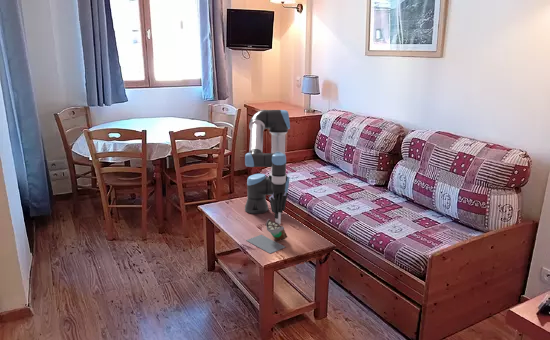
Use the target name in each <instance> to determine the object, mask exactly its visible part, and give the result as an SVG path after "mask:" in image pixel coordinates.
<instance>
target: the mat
mask: <svg viewBox="0 0 550 340" xmlns="http://www.w3.org/2000/svg"><path fill="white" fill-rule="evenodd" d="M245 241H246V242H248V243H250V244H252V245H253V246H255V247H256V248H259V249H261V250H263V251H264V252H266V253H268V254H269V255H270V254H273V253H275V252H278V251H281V250H283V249H286V246H284V245H283V244H281V243H279V242H277V241H275V240H273V239H271V238H269V237H268V236H265V235H264V234H259V235H256V236H254V237H251V238H249V239H246V240H245Z"/></svg>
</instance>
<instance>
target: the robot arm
mask: <svg viewBox="0 0 550 340" xmlns="http://www.w3.org/2000/svg"><path fill="white" fill-rule="evenodd" d="M248 129H249V130H250V133H249V134H250V135H249V136H250V137H249V147H248V148H249V151H248V152H247V153H245V155H244V165H245V167H246V168H247V167H249V168H271V170H270V172H269V173H268V176H266V174H265V173H254V174H252V175H249V176H248V177H247V180H246V181H247V182H246V185H247V186H246V187H247V189H246V190H247V196H246V197H247V198H246V201H245V202H246V203H245V205H244V211H245V212H246V213H249V214H253V215H261V214H265V213H267V212H268V210H269V206H270V209H271V212H272V213H274V218H275V219H274V222H275V223H277V224H279V225H281V224H282V222H281V219H282V214H283V213H284V211H285V209H286V204H287V199H288V197H289V193H288V191H289V187H290V176H288V173H287V172H286V171H287V170H286V169H287V156H286V134H287V133H288V132H289V130H290V129H291V123H290V114H289V111H288V110H287V109H261V110H259V111H257V112H255V113H254V114H253V116H252V117H251V118H250V119H249V125H248ZM265 129H266V130H268V131H269V134H271V151H270V153H269V152H267V153H266V152H264V151H263V149H264V147H263V146H264V131H265ZM266 196H268V200H269V203H270V204H269V206H268V203H267V199H266V198H267V197H266Z"/></svg>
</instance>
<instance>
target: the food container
mask: <svg viewBox="0 0 550 340" xmlns="http://www.w3.org/2000/svg"><path fill="white" fill-rule="evenodd" d="M265 226H266V227H265V228H266V231H267V232H269V233H270V234H271V235H272V237H273V238H274V241H275V240H276V242H277V241H280V242H281V241H284V240H286V239H287V238H288V235H287V233H286V230H285V227H284V225H281V224H277V223H275V221H273V220H271V218H268V219H267V221H266V223H265Z"/></svg>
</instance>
